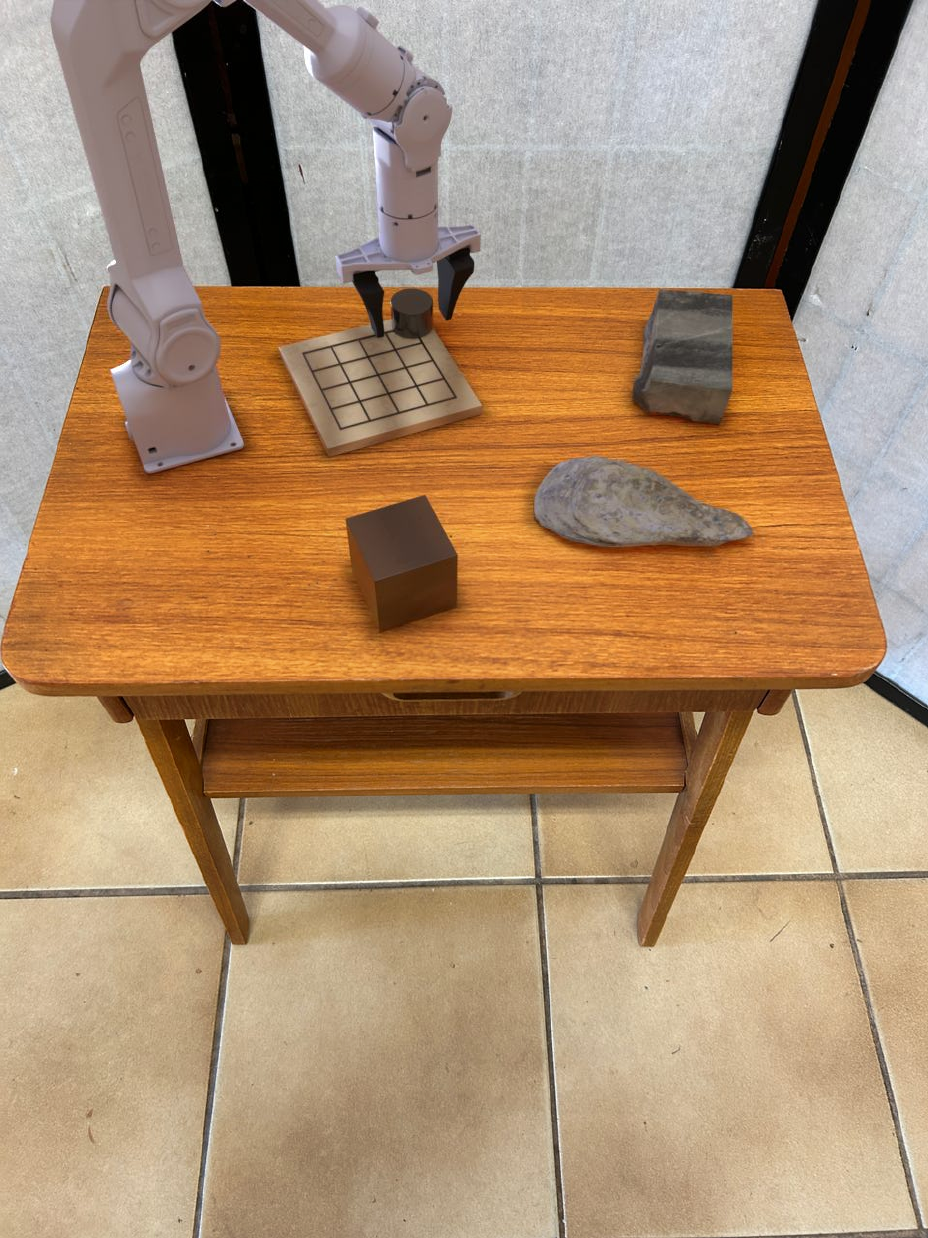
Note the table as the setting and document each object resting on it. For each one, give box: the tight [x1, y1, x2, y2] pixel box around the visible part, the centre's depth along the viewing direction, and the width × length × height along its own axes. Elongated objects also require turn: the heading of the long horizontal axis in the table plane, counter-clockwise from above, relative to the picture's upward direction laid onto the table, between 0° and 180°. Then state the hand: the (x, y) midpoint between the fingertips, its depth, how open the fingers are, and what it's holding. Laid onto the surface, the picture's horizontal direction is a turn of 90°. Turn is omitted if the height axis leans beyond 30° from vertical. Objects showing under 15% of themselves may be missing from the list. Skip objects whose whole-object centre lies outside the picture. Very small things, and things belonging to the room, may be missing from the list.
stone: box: [533, 455, 755, 548], centre depth 86 cm, size 20×4×10 cm
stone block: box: [631, 289, 734, 425], centre depth 97 cm, size 9×14×5 cm, turn 171°
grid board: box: [278, 318, 483, 458], centre depth 96 cm, size 16×16×1 cm
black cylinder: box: [389, 287, 434, 338], centre depth 99 cm, size 4×4×3 cm
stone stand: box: [345, 494, 459, 633], centre depth 79 cm, size 7×7×7 cm
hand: (411, 323), depth 100 cm, fingers open, 7 cm apart
